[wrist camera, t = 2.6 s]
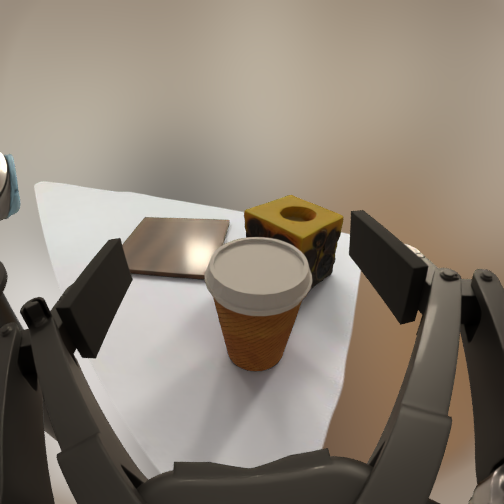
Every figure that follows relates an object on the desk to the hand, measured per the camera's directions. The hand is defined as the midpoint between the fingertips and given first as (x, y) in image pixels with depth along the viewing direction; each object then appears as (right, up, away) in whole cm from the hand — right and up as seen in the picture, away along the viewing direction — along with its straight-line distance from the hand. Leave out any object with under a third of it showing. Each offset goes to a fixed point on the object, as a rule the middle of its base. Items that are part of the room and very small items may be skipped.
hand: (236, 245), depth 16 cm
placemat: (-13, +1, +34) cm, 37 cm away
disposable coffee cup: (+1, -11, +16) cm, 20 cm away
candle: (+6, -4, +28) cm, 29 cm away
